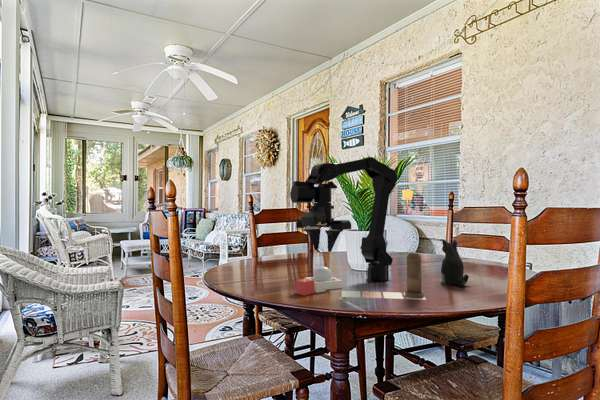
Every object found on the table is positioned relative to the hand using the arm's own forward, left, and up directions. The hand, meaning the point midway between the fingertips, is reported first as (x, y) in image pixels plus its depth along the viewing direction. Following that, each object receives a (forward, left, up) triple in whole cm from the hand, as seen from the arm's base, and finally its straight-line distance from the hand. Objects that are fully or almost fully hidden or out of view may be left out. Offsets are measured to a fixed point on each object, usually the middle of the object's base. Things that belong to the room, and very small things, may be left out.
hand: (322, 251), depth 123 cm
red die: (+8, +4, -12) cm, 15 cm away
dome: (0, 0, -11) cm, 11 cm away
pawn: (-19, +22, -11) cm, 31 cm away
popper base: (0, 0, -12) cm, 12 cm away
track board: (-11, +17, -12) cm, 24 cm away
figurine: (-42, +13, -12) cm, 46 cm away
